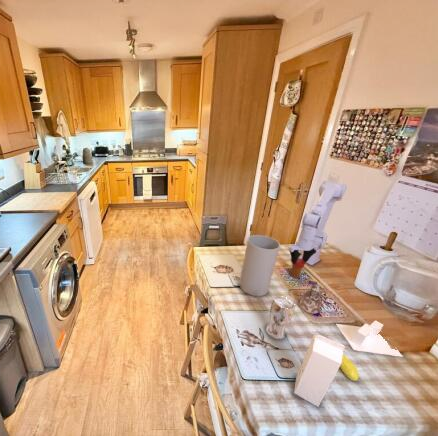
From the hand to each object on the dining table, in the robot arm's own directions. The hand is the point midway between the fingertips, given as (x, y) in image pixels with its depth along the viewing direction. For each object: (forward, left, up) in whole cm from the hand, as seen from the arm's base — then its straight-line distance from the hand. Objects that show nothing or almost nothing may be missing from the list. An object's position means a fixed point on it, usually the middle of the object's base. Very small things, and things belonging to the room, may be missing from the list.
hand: (298, 261), depth 113 cm
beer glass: (+40, +15, -8) cm, 43 cm away
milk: (+51, +32, -8) cm, 61 cm away
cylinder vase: (+26, -5, -8) cm, 28 cm away
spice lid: (0, 0, 0) cm, 0 cm away
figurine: (+16, +15, -8) cm, 23 cm away
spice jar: (0, 0, -8) cm, 8 cm away
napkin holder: (+14, +34, -8) cm, 38 cm away
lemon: (+34, +35, -8) cm, 49 cm away
